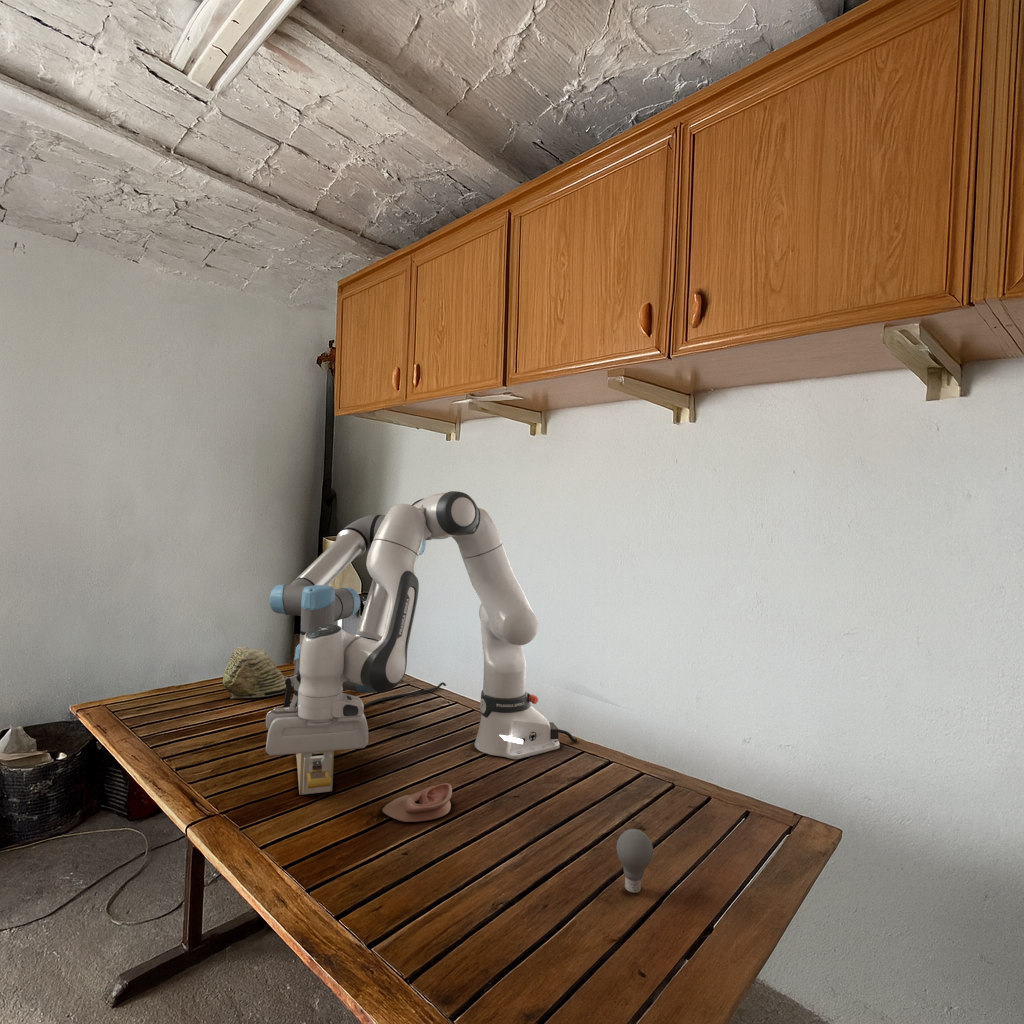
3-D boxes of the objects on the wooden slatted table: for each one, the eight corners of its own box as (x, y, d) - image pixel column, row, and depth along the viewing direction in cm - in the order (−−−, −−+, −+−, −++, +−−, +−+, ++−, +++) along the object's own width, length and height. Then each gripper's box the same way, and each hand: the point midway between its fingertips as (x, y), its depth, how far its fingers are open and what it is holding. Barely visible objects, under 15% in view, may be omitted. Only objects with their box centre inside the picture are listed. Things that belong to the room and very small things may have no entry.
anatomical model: (376, 797, 126) (398, 774, 137) (375, 817, 126) (397, 792, 137) (440, 807, 123) (457, 782, 134) (439, 827, 123) (456, 800, 134)
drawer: (332, 803, 129) (334, 767, 129) (304, 807, 127) (305, 770, 127) (323, 753, 153) (324, 723, 153) (299, 756, 152) (300, 725, 151)
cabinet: (332, 791, 137) (334, 748, 136) (299, 795, 134) (301, 751, 134) (324, 752, 157) (326, 715, 156) (296, 755, 154) (297, 717, 154)
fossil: (218, 695, 195) (220, 647, 195) (278, 685, 208) (279, 640, 207) (228, 703, 189) (230, 653, 188) (289, 692, 201) (290, 645, 201)
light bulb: (610, 879, 108) (613, 822, 108) (644, 879, 109) (647, 822, 109) (619, 902, 102) (622, 840, 102) (655, 901, 103) (658, 840, 103)
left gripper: (271, 656, 144) (267, 757, 144) (360, 653, 150) (356, 749, 151) (272, 649, 151) (268, 745, 151) (356, 645, 157) (352, 737, 158)
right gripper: (265, 713, 124) (262, 783, 124) (371, 707, 131) (368, 773, 131) (266, 703, 130) (263, 770, 130) (367, 697, 137) (364, 761, 137)
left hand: (312, 747), depth 151 cm, fingers closed on cabinet, 7 cm apart
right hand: (316, 771), depth 131 cm, fingers closed
